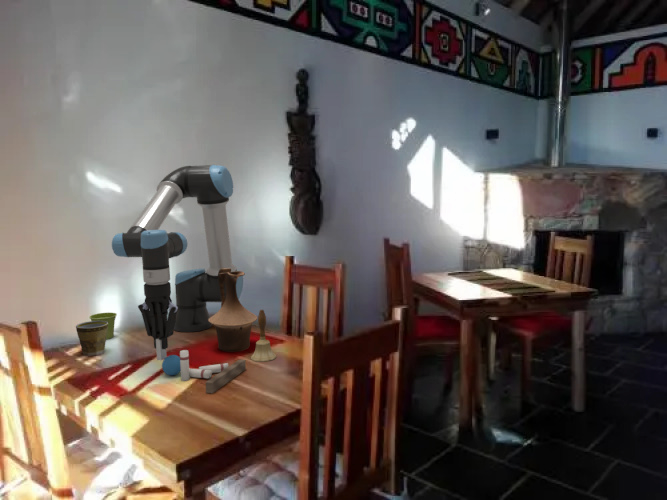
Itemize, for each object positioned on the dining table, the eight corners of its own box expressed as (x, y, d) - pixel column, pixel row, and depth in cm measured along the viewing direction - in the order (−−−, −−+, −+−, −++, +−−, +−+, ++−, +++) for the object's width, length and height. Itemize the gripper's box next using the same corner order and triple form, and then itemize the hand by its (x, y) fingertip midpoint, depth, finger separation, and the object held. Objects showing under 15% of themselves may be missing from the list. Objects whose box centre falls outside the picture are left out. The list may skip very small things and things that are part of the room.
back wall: (239, 368, 164) (239, 359, 164) (245, 369, 164) (245, 359, 163) (205, 392, 145) (205, 382, 145) (212, 393, 145) (212, 382, 144)
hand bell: (245, 359, 173) (244, 311, 171) (260, 352, 180) (259, 306, 179) (266, 363, 169) (265, 314, 167) (281, 355, 177) (279, 308, 175)
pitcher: (199, 347, 187) (195, 268, 184) (239, 337, 199) (237, 263, 196) (227, 358, 175) (224, 274, 171) (268, 347, 186) (266, 268, 183)
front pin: (185, 366, 159) (211, 368, 157) (187, 373, 160) (212, 375, 157) (181, 370, 157) (207, 373, 154) (182, 378, 158) (208, 380, 155)
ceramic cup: (116, 351, 184) (114, 322, 183) (90, 359, 175) (88, 329, 174) (92, 345, 191) (90, 318, 189) (66, 353, 182) (64, 324, 181)
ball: (174, 349, 162) (188, 357, 160) (171, 366, 164) (185, 375, 161) (159, 354, 157) (173, 363, 155) (156, 372, 159) (170, 381, 156)
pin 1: (184, 377, 157) (182, 349, 156) (191, 378, 156) (190, 350, 155) (179, 380, 155) (177, 352, 154) (186, 381, 154) (185, 352, 153)
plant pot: (99, 342, 194) (97, 319, 193) (86, 338, 200) (84, 316, 199) (123, 337, 201) (121, 314, 200) (109, 333, 207) (108, 311, 206)
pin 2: (199, 364, 159) (227, 361, 162) (198, 370, 161) (227, 366, 164) (200, 371, 158) (228, 367, 160) (199, 376, 159) (228, 372, 162)
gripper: (130, 283, 156) (135, 361, 159) (168, 285, 152) (173, 365, 155) (146, 278, 163) (151, 353, 166) (183, 280, 159) (187, 356, 163)
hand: (161, 358), depth 161 cm, fingers closed
